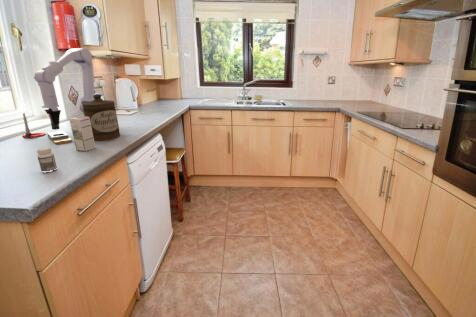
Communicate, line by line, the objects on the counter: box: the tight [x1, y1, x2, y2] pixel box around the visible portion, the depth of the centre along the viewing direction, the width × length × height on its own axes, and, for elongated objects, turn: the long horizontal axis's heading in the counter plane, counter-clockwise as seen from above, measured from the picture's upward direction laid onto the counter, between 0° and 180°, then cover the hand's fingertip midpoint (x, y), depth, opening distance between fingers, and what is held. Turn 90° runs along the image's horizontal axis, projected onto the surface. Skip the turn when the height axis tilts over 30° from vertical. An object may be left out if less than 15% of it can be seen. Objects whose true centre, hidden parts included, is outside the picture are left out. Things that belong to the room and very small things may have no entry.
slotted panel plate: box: [47, 130, 73, 145], centre depth 140 cm, size 7×19×2 cm, turn 42°
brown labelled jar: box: [82, 93, 121, 142], centre depth 139 cm, size 15×15×22 cm
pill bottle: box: [36, 146, 58, 172], centre depth 98 cm, size 5×5×8 cm
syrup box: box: [68, 115, 97, 152], centre depth 121 cm, size 6×6×14 cm
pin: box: [47, 114, 61, 131], centre depth 137 cm, size 4×4×8 cm
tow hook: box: [22, 112, 46, 139], centre depth 146 cm, size 8×13×9 cm
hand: (55, 123), depth 138 cm, fingers closed on pin, 4 cm apart
